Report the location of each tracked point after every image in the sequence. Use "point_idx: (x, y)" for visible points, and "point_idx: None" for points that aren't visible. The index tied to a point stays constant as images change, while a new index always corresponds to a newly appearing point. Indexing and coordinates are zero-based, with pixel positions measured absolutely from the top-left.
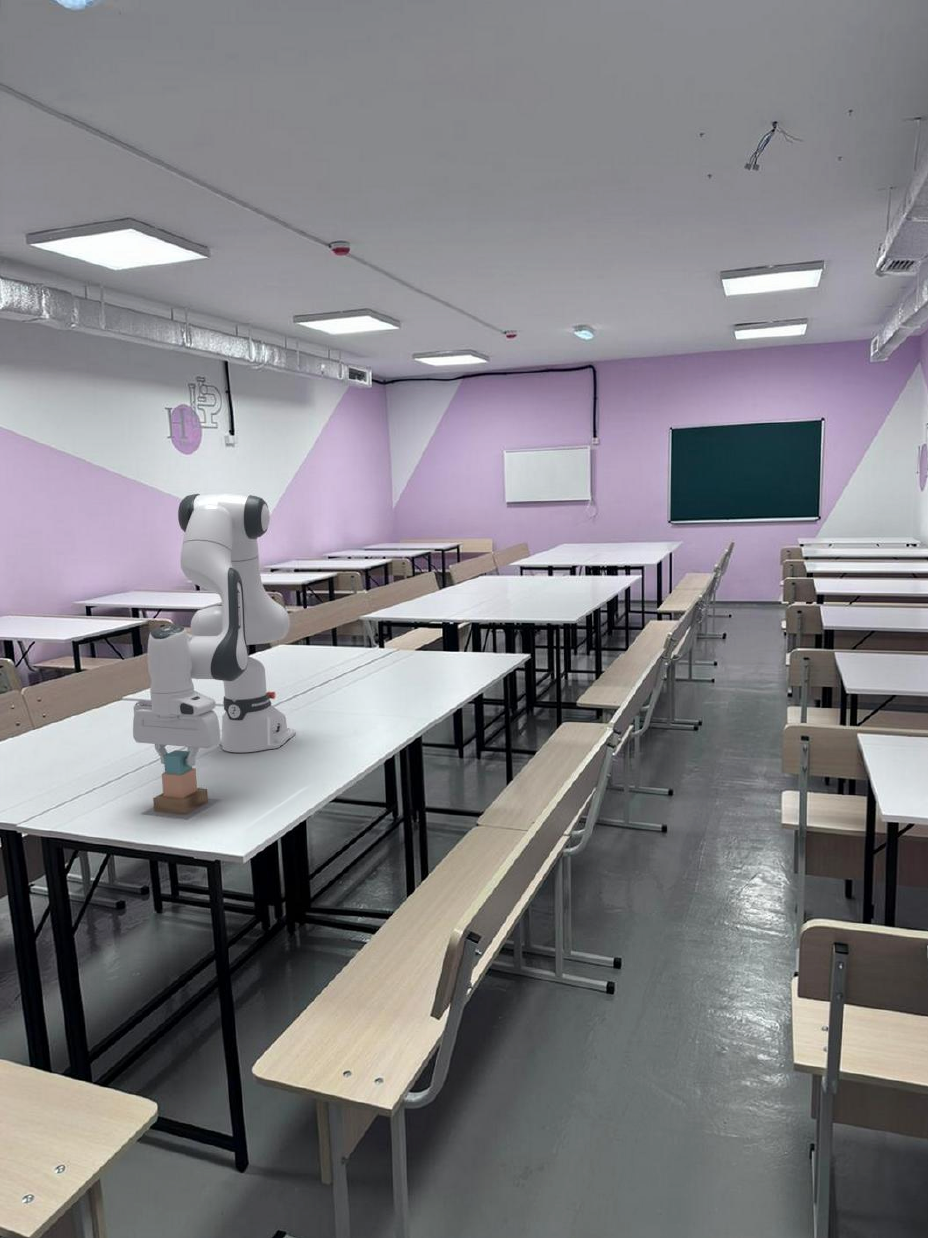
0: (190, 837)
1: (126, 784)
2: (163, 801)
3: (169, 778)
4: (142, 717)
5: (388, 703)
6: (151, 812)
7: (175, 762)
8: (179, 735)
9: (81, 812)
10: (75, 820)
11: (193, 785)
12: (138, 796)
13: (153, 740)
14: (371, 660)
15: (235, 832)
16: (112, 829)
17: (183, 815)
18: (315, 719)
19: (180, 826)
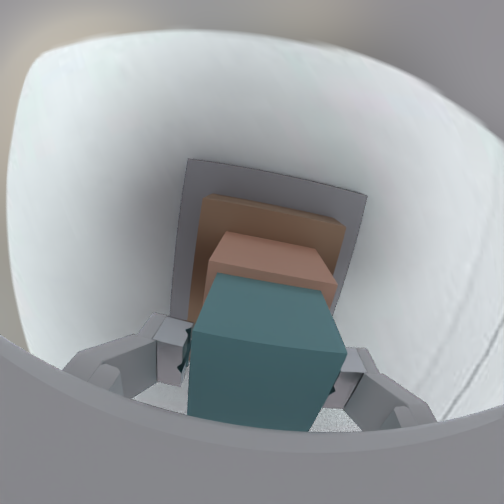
0: (140, 73)
1: (444, 384)
2: (299, 215)
3: (287, 268)
4: None
5: None
6: (338, 209)
7: (239, 313)
8: (105, 501)
9: (494, 232)
10: (490, 182)
11: None
12: (416, 339)
13: (461, 436)
14: None
15: (57, 130)
16: (394, 109)
17: (216, 189)
18: None
19: (201, 133)
